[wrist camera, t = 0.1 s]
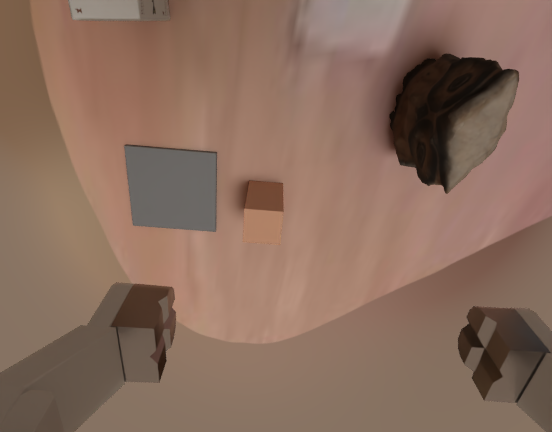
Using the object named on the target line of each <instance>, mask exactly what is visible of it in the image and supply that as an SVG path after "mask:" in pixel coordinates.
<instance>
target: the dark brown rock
mask: <svg viewBox="0 0 552 432" xmlns="http://www.w3.org/2000/svg"><path fill="white" fill-rule="evenodd" d="M518 82H519V72H518V71H517V70H512V69H505V70H502V68H501V67H500V65H499V64H498V62H497V61H492V60H485V59H484V58H472V57H470V58H461V59H460V58H458V57H456V56H454V55H451V54H444V55H442V56H441V57H440V58H439V59H438V60H435V59H426V60H424V61H423V62H422V63H421V64H420V65H417V66H416V67H415V68H414V69H413V70H412V71H410V72H409V73H407V75H406V76H405V77H404V79H403V92H402V93H401V94H398V95H397V97H396V107H395V112H394V111H393V112H391V113H390V119H391V123H390V127H391V129H392V130H393V133H394V145H395V149H396V154H397V156H398V160H399V163H400V165H403V166H408V167H415V168H416V170H417V175H418V177H419V178H420V180H421V181H422V183H425V184H427V185H428V186H430V185H434V184H435V185H442V186H443V187H444V191H445V193H446V194H447V193H449V192H450V190H451V189H453V188H454V187H455V186H456V185H457V184H458V183H459V182H460V181H461V180H463V179H464V178H465V177H466V176H467V175H468V173H469V172H470V171H471V170H472V169H473V168H474V167H476V166H478V165H479V164H481V163H482V162H483V161H484V160H485V159H486V158H487V157H488V156H489V155H490V154H491V153H492V152H493V151H494V150H495V149H496V147H497V144H498V141H499V139H500V137H501V136H502V134H503V133H504V132H505V130H506V125H507V115H508V112H509V110H510V108H511V107H512V105H513V102H514V99H515V95H516V90H517V86H518Z"/></svg>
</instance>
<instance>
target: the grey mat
mask: <svg viewBox="0 0 552 432" xmlns="http://www.w3.org/2000/svg"><path fill="white" fill-rule="evenodd" d="M124 148H125V157H126V166H127V175H128V184H129V193H130V202H131V211H132V220H133V225H134V226H147V227H160V228H173V229H186V230H199V231H212V232H216V185H217V152H208V151H196V150H184V149H172V148H160V147H148V146H135V145H125V146H124Z"/></svg>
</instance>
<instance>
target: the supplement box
mask: <svg viewBox="0 0 552 432" xmlns="http://www.w3.org/2000/svg"><path fill="white" fill-rule="evenodd" d="M68 2H69V7H70V11H71V17H72V19H73V20H86V21H167V20H170V12H169V6H168V0H68Z"/></svg>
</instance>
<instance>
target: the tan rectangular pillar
mask: <svg viewBox="0 0 552 432" xmlns="http://www.w3.org/2000/svg"><path fill="white" fill-rule="evenodd" d="M283 212H284V210H283V183H273V182H261V181H249V186H248V192H247V197H246V203H245V208H244V227H243V242H249V243H262V244H276V245H280V241H281V231H282V222H283Z"/></svg>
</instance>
